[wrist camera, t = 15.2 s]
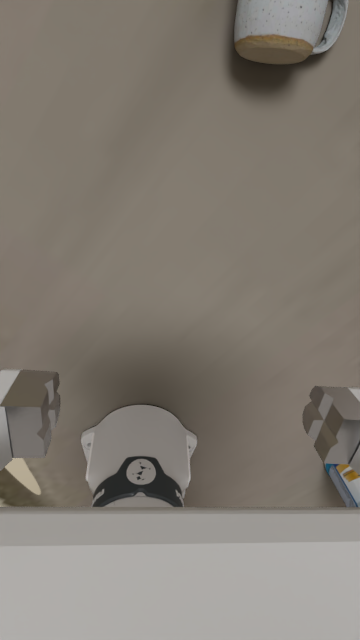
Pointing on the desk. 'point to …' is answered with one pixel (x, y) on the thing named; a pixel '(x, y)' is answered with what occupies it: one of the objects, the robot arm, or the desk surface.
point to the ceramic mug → (285, 29)
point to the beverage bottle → (345, 483)
